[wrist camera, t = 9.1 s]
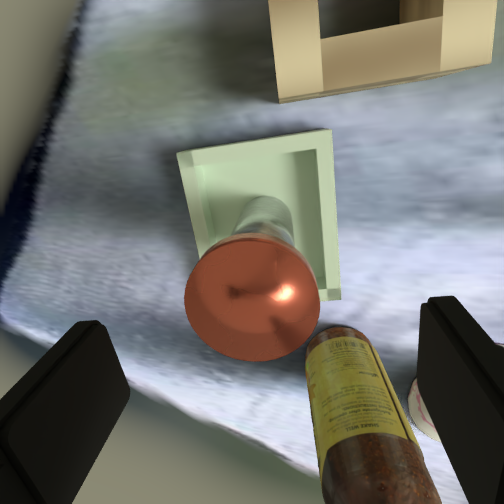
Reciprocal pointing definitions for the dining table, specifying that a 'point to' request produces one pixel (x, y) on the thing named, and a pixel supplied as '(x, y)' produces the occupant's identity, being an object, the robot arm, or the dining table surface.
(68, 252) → the dining table surface
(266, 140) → the tray
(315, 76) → the socket block
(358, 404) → the sauce bottle
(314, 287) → the pin
